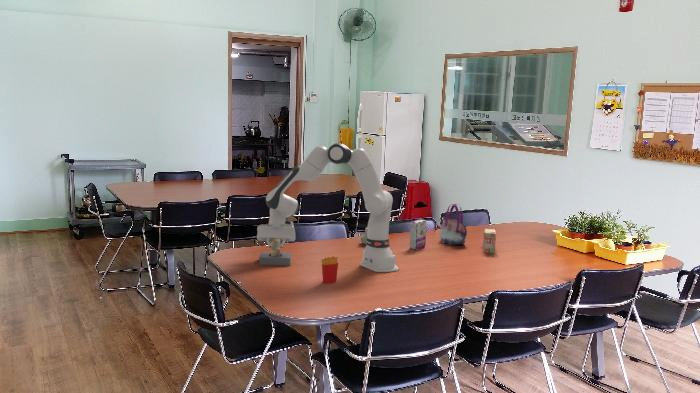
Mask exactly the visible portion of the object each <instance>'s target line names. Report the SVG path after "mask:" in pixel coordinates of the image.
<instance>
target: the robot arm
mask: <svg viewBox="0 0 700 393" xmlns="http://www.w3.org/2000/svg"><path fill="white" fill-rule="evenodd" d="M330 163H332V164H335V165H338V166H339V165H340V166H341V165H346V164H348V165H349V166H350V167H351V169H352V172H353V173H354V176H355V178H356V180H357V182H358V184H359V186H360V187H359V188H360V190H361V193H362V196H363V198H362V199H363V201H364V207H365V209H366V211H367V212H368V213H370V214H369V218H368V222H367V227H368V233H367V238H366V244H367V245H366V244H365V245H366V246H365V248H364V249H363V251H362V261H360V263H359V266H361V267H364V268H366V269H367V270H370V271H373V272H376V273H388V272H397V271H399V270H400V267H398V266H397V264H396V263H395V261H396V255H395V254H393V251H392V250H391V247H390V239H389V231H390V230H389V227H390V219H391V216H392V215H391V214H392V206H393V202H394V200H393V199H394V198H393V196H392V194H391V193H390V192H389V191H387V190H385V189H384V190H383V188H382V184H381V179H380V175H379V173H378V171H377V169H376V167H375V165H374V163H373V161H372V159H371V158H370V155H369V154H368V152H367V151H366V150H365V149H364V148H362V147H360V148H354V149H351V148H350V146H348V145H346V144H343V143H339V142H337V143H333V144H331V145H330V146H329V147H328V148H327V147H325V146H323V145H316V146H315V147H314V148H313V149H312V150H311V152H309V154H308V155H307V157H306V158H305V160H304V161H303V162H302V163H301V164H299V165H298V166H294V167H292V168H291V169H290V170H289V171H288V172H287V173H286V174H285V176H283V178H282V179H281V180H280V181H278V183H277V184H276V185H275V186H274V187H273V188H272V189H271V190H270V191H269V192H268V193H267V195H266V196H265V204H266V206H267V207H268V208H269V218H268V224H259V225H257V228H256V231H257V234H256V239H257V241H259V242H260V241H261V242H266V243H267V245H268V248H271V239H272V238H280V249H282V248H283V247H284V245H285V243H286V242H295V240H296V230H295V227H294V222H293V221H291V220H287V219H286V218H291V217H292V216H294V215H296V214H297V213H298V211H299V201H298V200H297V199H295V198H293V197H292V196H289V195H288V194H285V191H286V190H288V188H289V187H290V186H291V185H292V184H293V183H294V182H296V181H297V182H298V181H305V182H307V181H308V182H311V181H315V180H317V179H318V178H320V176H321V174H322V173H323V172H324V170H325V168H326V167H327V166H328V165H329V164H330Z"/></svg>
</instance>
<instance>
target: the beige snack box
mask: <svg viewBox="0 0 700 393" xmlns="http://www.w3.org/2000/svg"><path fill="white" fill-rule="evenodd" d="M496 238H497V231H496V230H495V228H492V229H491V228H484V230H483V238H482V239H483V242H482V247H483V253H484V252H485V254H495V253H496V252H495V251H496Z"/></svg>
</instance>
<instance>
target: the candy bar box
mask: <svg viewBox="0 0 700 393" xmlns="http://www.w3.org/2000/svg"><path fill="white" fill-rule="evenodd" d="M409 225H410V229H409V249H410V248H412V249H411V250H415V249H417V250H420V249H422V247H423V248H425V247H426V239H427V238H426V237H427V220H424V219H417V220H414V221H410V224H409ZM419 248H420V249H419Z"/></svg>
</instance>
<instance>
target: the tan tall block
mask: <svg viewBox="0 0 700 393" xmlns="http://www.w3.org/2000/svg"><path fill="white" fill-rule="evenodd" d="M270 243H271V247H270V252H271V256H280V252H281V248H280V243H281V241H280V238H272V239H271V241H270Z"/></svg>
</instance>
